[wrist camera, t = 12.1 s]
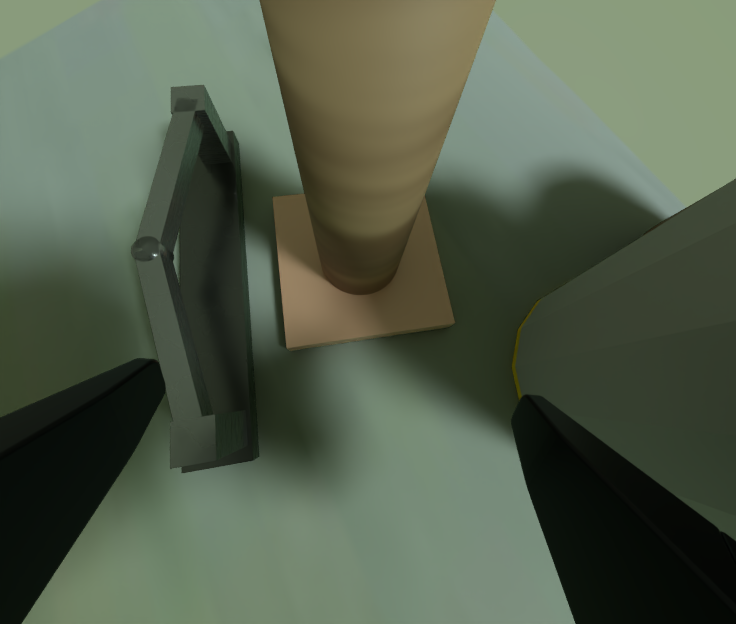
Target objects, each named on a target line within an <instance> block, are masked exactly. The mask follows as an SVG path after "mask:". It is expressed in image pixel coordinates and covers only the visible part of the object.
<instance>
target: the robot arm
mask: <svg viewBox="0 0 736 624" xmlns="http://www.w3.org/2000/svg"><path fill="white" fill-rule="evenodd" d="M165 390H166V384H165V381H164V377H163V374H162V370H161V367H160V364H159V362H158V361H157V360H154V359H145V358H138V359H134V360H132V361H130V362H127V363H125V364H123V365H121V366H118V367H116V368H114V369H111V370H109V371H107V372H104V373H102V374H100V375H97V376H95V377H93V378H91V379H88V380H86V381H84V382H81V383H79V384H77V385H74V386H72V387H70V388H67V389H65V390H63V391H61V392H58V393H56V394H54V395H51V396H49V397H47V398H44V399H42V400H40V401H37V402H35V403H33V404H31V405H28V406H26V407H24V408H21V409H19V410H17V411H14V412H12V413H10V414H7V415H5V416H3V417H1V418H0V624H22V622H23V621H24V619H25V618H26V616H27V615H28V613H29V612H30V610H31V608H32V607H33V605H34V604H35V602H36V601H37V599H38V598H39V596H40V595H41V593H42V592H43V590H44V589H45V587H46V586H47V584H48V583H49V581H50V579H51V578H52V576H53V575H54V573H55V572H56V570H57V569H58V567H59V566H60V564H61V563H62V561H63V560H64V558H65V557H66V555H67V554H68V552H69V551H70V549H71V547H72V546H73V544H74V543H75V541H76V540H77V538H78V537H79V535H80V534H81V532H82V531H83V529H84V528H85V526H86V525H87V523H88V522H89V520H90V519H91V517H92V515H93V514H94V512H95V511H96V509H97V508H98V506H99V505H100V503H101V502H102V500H103V499H104V497H105V496H106V494H107V493H108V491H109V490H110V488H111V487H112V485H113V483H114V482H115V480H116V479H117V477H118V476H119V474H120V473H121V471H122V470H123V468H124V467H125V465H126V464H127V462H128V460H129V459H130V457H131V456H132V454H133V452H134V451H135V449H136V447H137V445H138V443H139V442H140V440H141V438H142V436H143V434H144V432H145V430H146V428H147V426H148V424H149V423H150V421H151V419H152V417H153V415H154V413H155V411H156V409H157V407H158V405H159V404H160V402H161V400H162V398H163V396H164V394H165ZM511 425H512V430H513V434H514V438H515V442H516V446H517V450H518V454H519V458H520V462H521V466H522V470H523V474H524V478H525V482H526V485H527V488H528V491H529V494H530V497H531V500H532V503H533V506H534V509H535V512H536V514H537V517H538V520H539V523H540V526H541V528H542V531H543V534H544V537H545V540H546V542H547V545H548V548H549V551H550V554H551V556H552V559H553V562H554V565H555V568H556V570H557V573H558V576H559V579H560V582H561V584H562V587H563V590H564V593H565V596H566V598H567V601H568V604H569V607H570V610H571V612H572V615H573V618H574V621H575V624H736V541H735V540H734V539H733V538H731V537H730V536H729V535H727V534H726V533H725V532H722V531H719V529H718V527H716V526H715V525H714V524H712V523H711V522H710V521H708V520H707V519H706V518H704V517H703V516H702V515H700V514H699V513H698V512H696V511H695V510H694V509H692V508H691V507H690V506H688V505H687V504H686V503H684V502H683V501H682V500H680V499H679V498H678V497H676V496H675V495H674V494H672V493H671V492H670V491H668V490H667V489H666V488H664V487H663V486H662V485H660V484H659V483H658V482H656V481H655V480H654V479H652V478H651V477H650V476H648V475H647V474H646V473H644V472H643V471H642V470H640V469H639V468H637V467H636V466H635V465H633V464H632V463H631V462H629V461H628V460H627V459H625V458H624V457H623V456H621V455H620V454H619V453H617V452H616V451H615V450H613V449H612V448H611V447H609V446H608V445H607V444H605V443H604V442H603V441H601V440H600V439H599V438H597V437H596V436H595V435H593V434H592V433H591V432H589V431H588V430H587V429H585V428H584V427H583V426H581V425H580V424H579V423H577V422H576V421H575V420H573V419H572V418H571V417H569V416H568V415H567V414H565V413H564V412H563V411H561V410H560V409H559V408H557V407H556V406H555V405H553V404H552V403H551V402H549V401H548V400H547V399H545V398H544V397H542V396H540V395H531V394H525V395H523V396H522V397H521V398H520V400H519V402H518V405H517V407H516V409H515V411H514V413H513V415H512V419H511Z"/></svg>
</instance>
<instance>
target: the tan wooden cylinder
mask: <svg viewBox="0 0 736 624" xmlns="http://www.w3.org/2000/svg"><path fill="white" fill-rule="evenodd" d="M495 1H496V0H260V4H261V8H262V13H263V17H264V21H265V26H266V30H267V34H268V39H269V43H270V47H271V52H272V56H273V60H274V64H275V69H276V73H277V77H278V82H279V86H280V90H281V95H282V99H283V103H284V108H285V112H286V116H287V120H288V125H289V129H290V133H291V138H292V142H293V146H294V151H295V155H296V159H297V163H298V168H299V172H300V176H301V181H302V185H303V189H304V194H305V198H306V202H307V207H308V211H309V215H310V219H311V224H312V228H313V232H314V237H315V241H316V245H317V250H318V254H319V258H320V263H321V267H322V270H323V272H324V275H325V276H326V278H327V279H328V280H329V282H330V283H331V284H332V285H333V286H335V287H336V288H337V289H339V290H341V291H343V292H346V293H349V294H352V295H368V294H372V293H375V292H377V291H379V290H381V289H383V288H384V287H386V286H387V285H388V284H389V283H390V282H391V280H392V279H393V278H394V276H395V274H396V272H397V269H398V266H399V264H400V261H401V258H402V255H403V253H404V250H405V247H406V244H407V242H408V239H409V236H410V234H411V231H412V228H413V225H414V223H415V220H416V217H417V214H418V212H419V209H420V206H421V204H422V201H423V198H424V195H425V193H426V190H427V187H428V184H429V182H430V179H431V176H432V173H433V171H434V168H435V165H436V163H437V160H438V157H439V154H440V152H441V149H442V146H443V143H444V141H445V138H446V135H447V133H448V130H449V127H450V124H451V122H452V119H453V116H454V113H455V111H456V108H457V105H458V103H459V100H460V97H461V94H462V92H463V89H464V86H465V83H466V81H467V78H468V75H469V72H470V70H471V67H472V64H473V62H474V59H475V56H476V53H477V51H478V48H479V45H480V42H481V40H482V37H483V34H484V32H485V29H486V26H487V23H488V21H489V18H490V15H491V12H492V10H493V7H494V4H495Z"/></svg>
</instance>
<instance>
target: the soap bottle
mask: <svg viewBox="0 0 736 624" xmlns="http://www.w3.org/2000/svg"><path fill="white" fill-rule="evenodd" d="M512 371H513V376H514V380H515V385H516V389H517V394H518V398H519V400H520V398H521V397H522V396H523V395H525V394H531V395H540V396H542V397H544V398H545V399H547V400H548V401H549V402H551V403H552V404H553V405H555V406H556V407H557V408H559V409H560V410H561V411H563V412H564V413H565V414H567V415H568V416H569V417H571V418H572V419H573V420H575V421H576V422H577V423H579V424H580V425H581V426H583V427H584V428H585V429H587V430H588V431H589V432H591V433H592V434H593V435H595V436H596V437H597V438H599V439H600V440H601V441H603V442H604V443H605V444H607V445H608V446H609V447H611V448H612V449H613V450H615V451H616V452H617V453H619V454H620V455H621V456H623V457H624V458H625V459H627V460H628V461H629V462H631V463H632V464H633V465H635V466H636V467H637V468H639V469H640V470H642V471H643V472H644V473H646V474H647V475H648V476H650V477H651V478H652V479H654V480H655V481H656V482H658V483H659V484H660V485H662V486H663V487H664V488H666V489H667V490H668V491H670V492H671V493H672V494H674V495H675V496H676V497H678V498H679V499H680V500H682V501H683V502H684V503H686V504H687V505H688V506H690V507H691V508H692V509H694V510H695V511H696V512H698V513H699V514H700V515H702V516H703V517H704V518H706V519H707V520H708V521H710V522H711V523H712V524H714V525H715V526H716V527H718V529H719V531H722V532H725V533H726V534H727V535H729V536H730V537H731V538H733V539H734V540H735V541H736V179H734V180H733V181H731V182H730V183H728V184H726V185H725V186H723V187H721V188H720V189H718V190H716V191H715V192H713V193H712V194H710V195H708V196H707V197H705V198H704V199H702V200H700V201H699V202H697V203H695V204H694V205H692V206H691V207H689V208H687V209H686V210H684V211H683V212H681V213H679V214H678V215H676V216H674V217H673V218H671V219H670V220H668V221H666V222H665V223H663V224H662V225H660V226H658V227H657V228H655V229H653V230H652V231H650V232H649V233H647V234H645V235H644V236H642V237H640V238H639V239H637V240H636V241H634V242H632V243H631V244H629V245H628V246H626V247H624V248H623V249H621V250H619V251H618V252H616V253H615V254H613V255H611V256H610V257H608V258H607V259H605V260H603V261H602V262H600V263H598V264H597V265H595V266H594V267H592V268H590V269H589V270H587V271H586V272H584V273H582V274H581V275H579V276H577V277H576V278H574V279H573V280H571V281H569V282H568V283H566V284H565V285H563V286H561V287H560V288H558V289H556V290H555V291H553V292H552V293H550V294H548V295H547V296H545V297H543V298H542V299H540V300H538V301H537V302H536V304H535V305H534V306H533V308H532V309H531V311H530V312H529V314H528V315H527V317H526V318H525V320H524V321H523V323H522V324H521V326H520V327H519V328H518V332H517V338H516V344H515V350H514V356H513V362H512Z"/></svg>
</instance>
